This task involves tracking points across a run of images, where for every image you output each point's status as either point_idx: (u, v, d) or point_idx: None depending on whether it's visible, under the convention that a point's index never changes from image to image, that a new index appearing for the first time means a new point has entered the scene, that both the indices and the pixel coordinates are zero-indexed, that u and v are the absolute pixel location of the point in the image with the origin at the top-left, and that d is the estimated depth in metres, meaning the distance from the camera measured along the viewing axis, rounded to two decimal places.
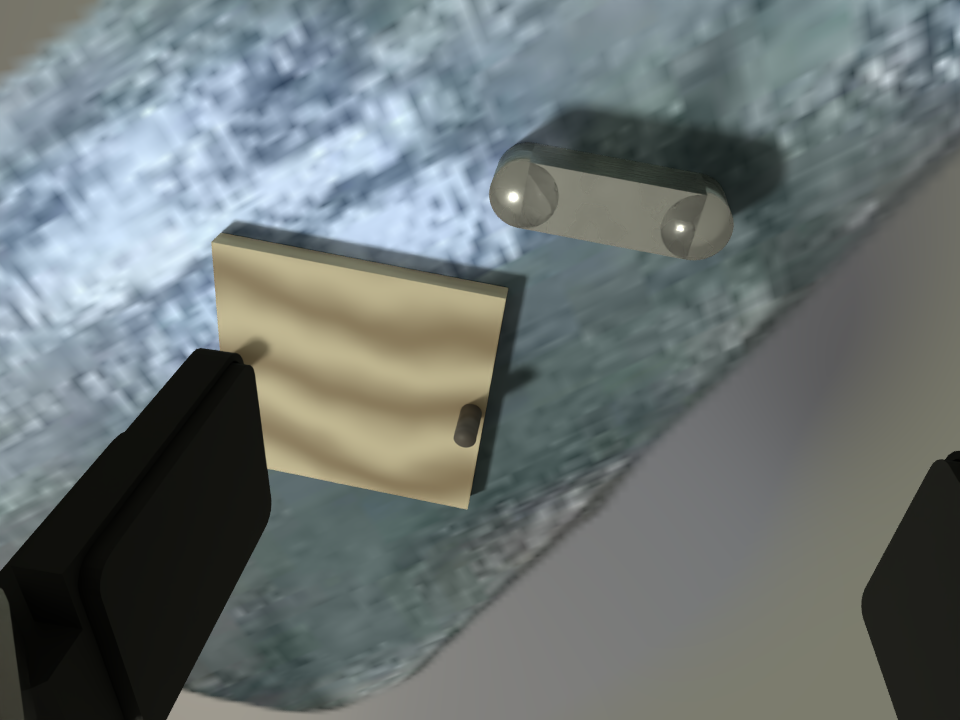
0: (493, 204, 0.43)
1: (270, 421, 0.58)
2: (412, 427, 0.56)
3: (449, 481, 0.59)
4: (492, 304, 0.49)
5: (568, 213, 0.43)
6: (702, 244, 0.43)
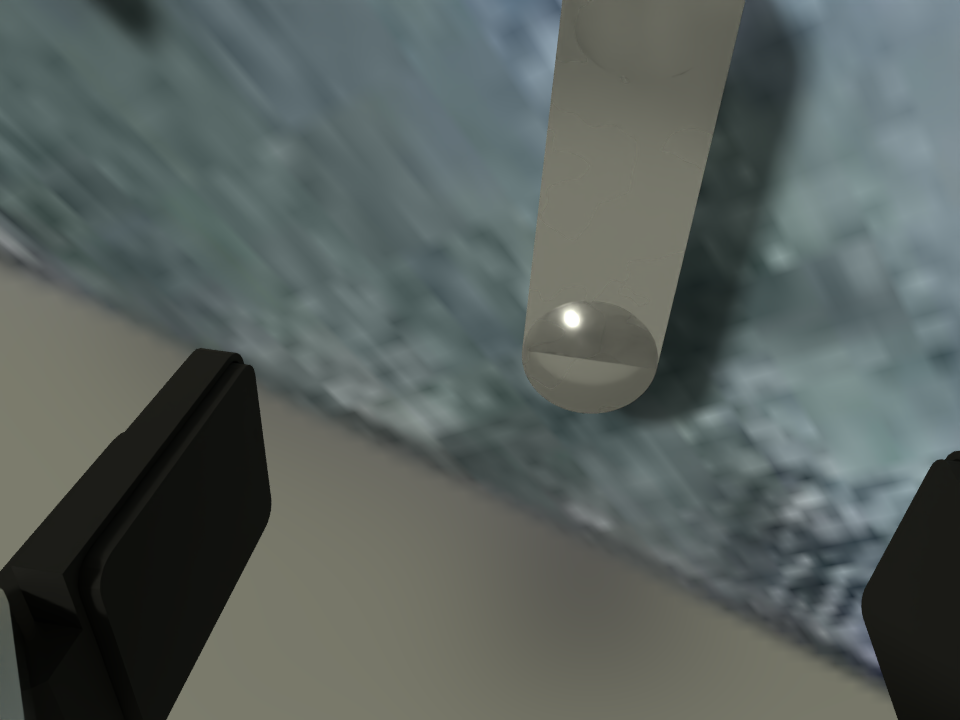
0: None
1: None
2: None
3: None
4: None
5: (609, 109, 0.18)
6: (556, 372, 0.23)
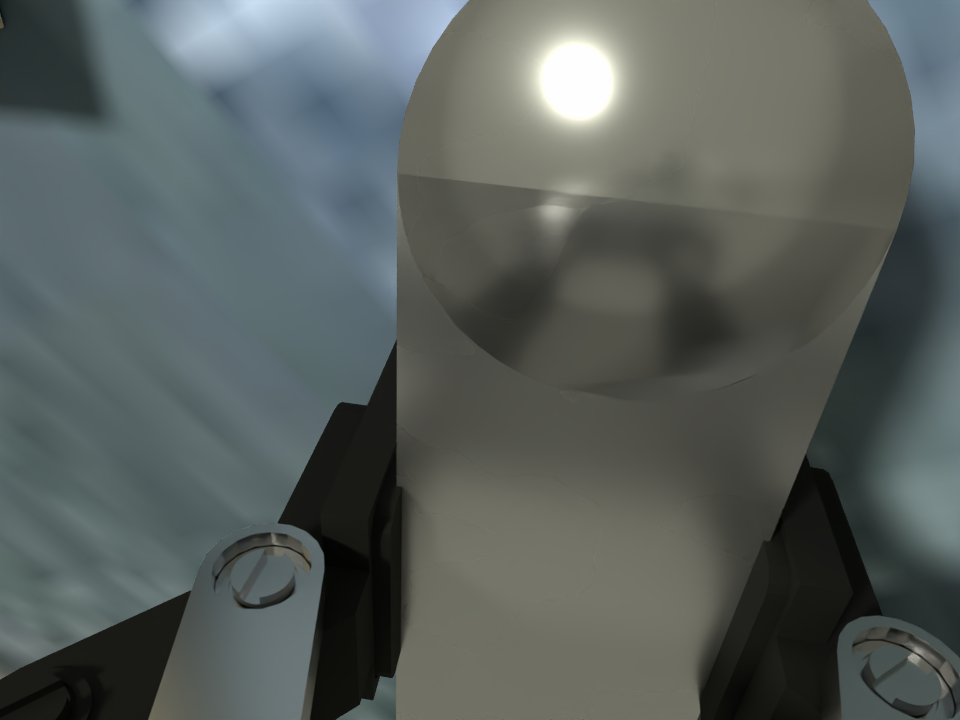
0: None
1: None
2: None
3: None
4: None
5: (535, 447, 0.08)
6: None
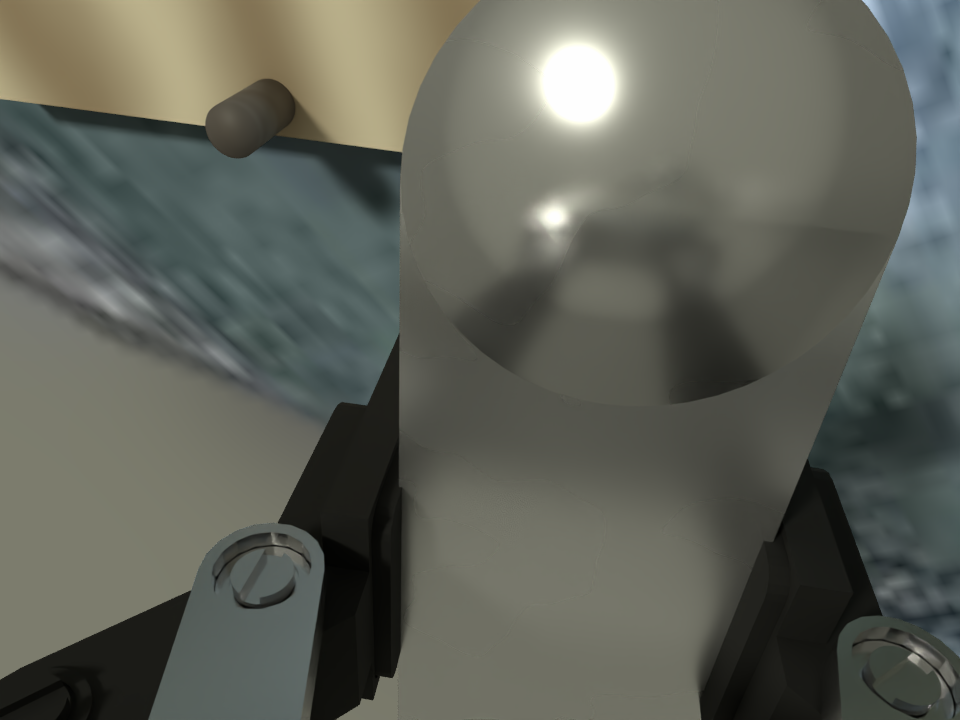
0: None
1: None
2: None
3: (53, 50, 0.24)
4: None
5: (537, 452, 0.08)
6: None
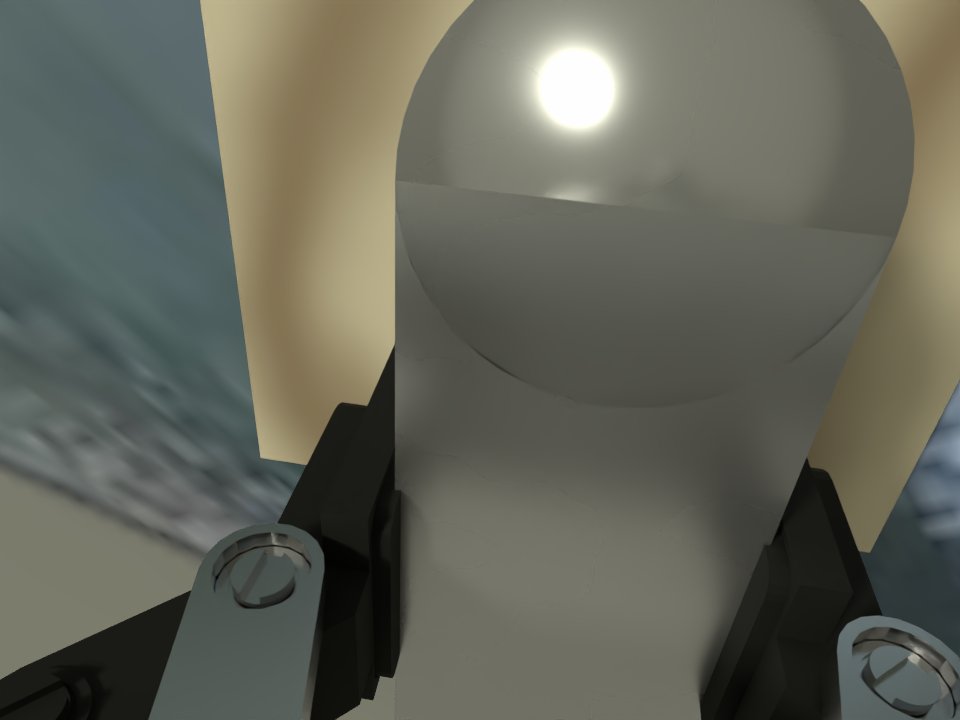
0: None
1: None
2: None
3: None
4: (858, 531, 0.23)
5: (534, 453, 0.08)
6: None
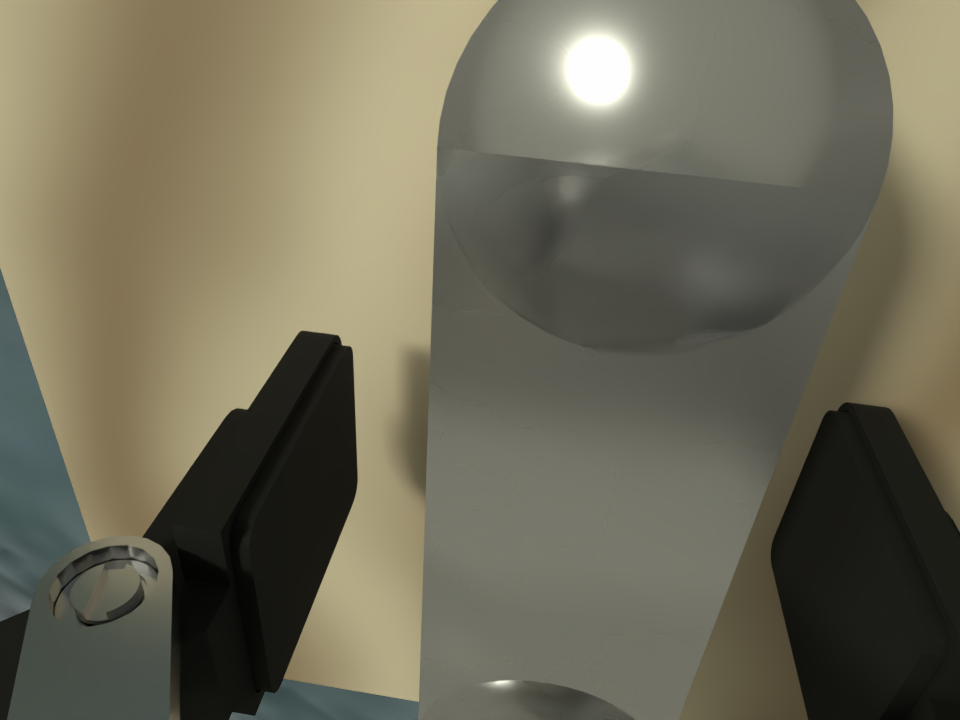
0: None
1: None
2: (420, 557, 0.15)
3: None
4: None
5: (555, 400, 0.08)
6: None
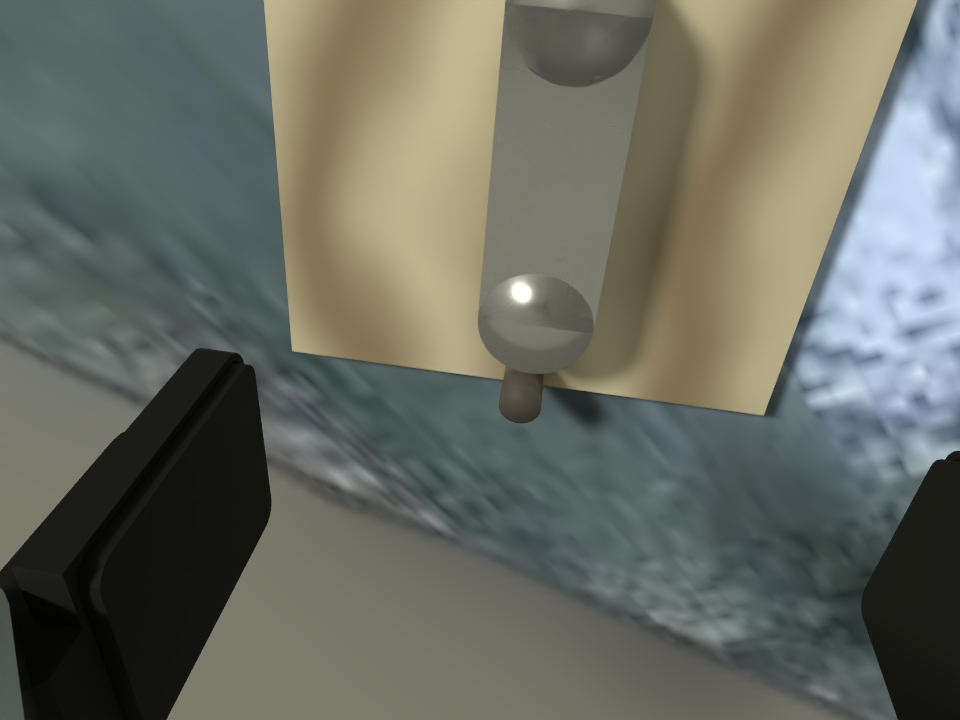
0: None
1: None
2: (472, 264, 0.29)
3: (352, 323, 0.31)
4: (754, 397, 0.30)
5: (545, 110, 0.22)
6: (507, 337, 0.26)
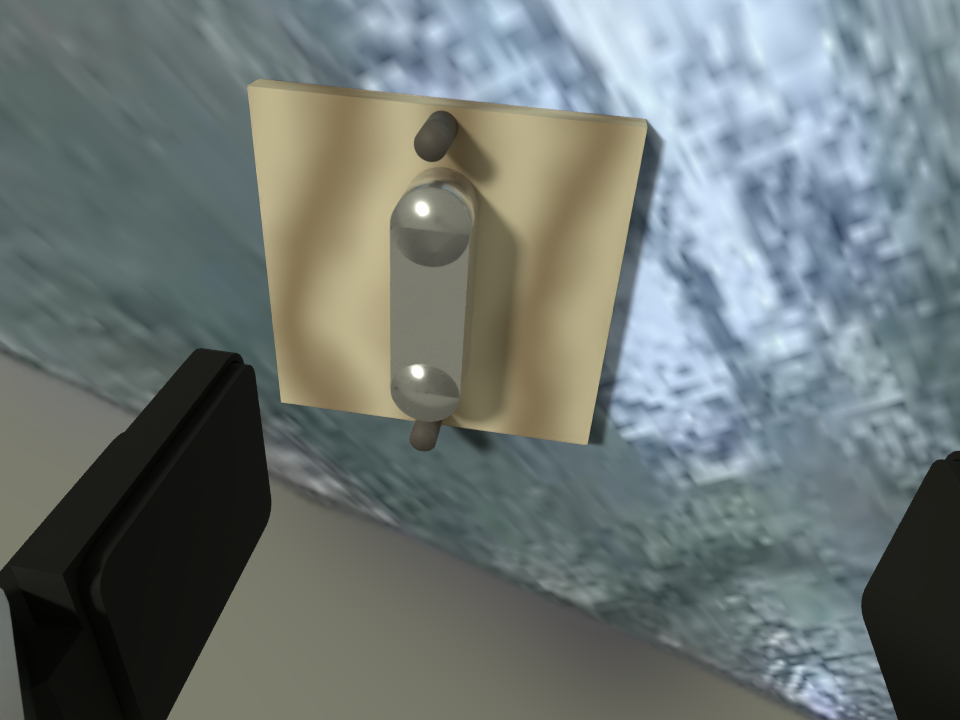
0: (413, 196, 0.36)
1: (350, 168, 0.39)
2: None
3: (319, 385, 0.47)
4: (579, 433, 0.47)
5: (417, 278, 0.38)
6: (409, 400, 0.42)
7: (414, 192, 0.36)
